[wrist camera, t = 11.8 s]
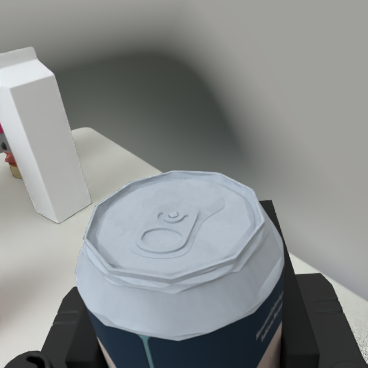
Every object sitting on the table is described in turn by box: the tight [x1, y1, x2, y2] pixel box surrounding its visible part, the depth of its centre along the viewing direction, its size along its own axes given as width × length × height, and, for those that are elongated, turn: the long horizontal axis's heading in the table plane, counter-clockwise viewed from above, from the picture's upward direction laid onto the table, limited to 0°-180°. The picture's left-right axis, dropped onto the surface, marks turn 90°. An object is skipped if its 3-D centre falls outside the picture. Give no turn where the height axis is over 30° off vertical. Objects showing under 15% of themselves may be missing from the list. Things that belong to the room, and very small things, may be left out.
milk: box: [0, 47, 92, 224], centre depth 46 cm, size 6×6×22 cm
